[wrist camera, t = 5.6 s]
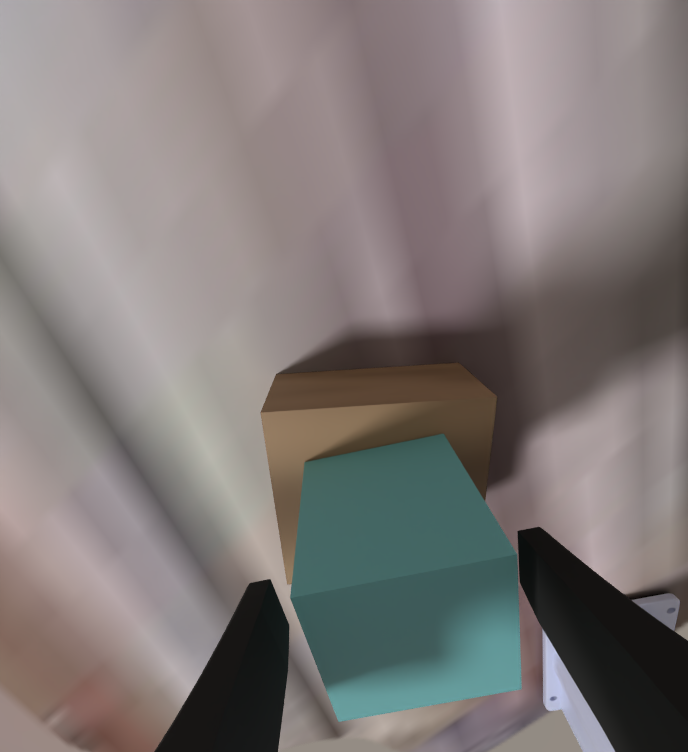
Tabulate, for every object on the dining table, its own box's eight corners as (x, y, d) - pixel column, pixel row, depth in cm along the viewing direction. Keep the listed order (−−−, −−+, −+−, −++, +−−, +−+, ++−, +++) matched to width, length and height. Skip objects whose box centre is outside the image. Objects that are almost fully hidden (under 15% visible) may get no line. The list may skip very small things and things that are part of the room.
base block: (446, 503, 18) (476, 569, 14) (295, 514, 18) (287, 584, 14) (456, 360, 15) (497, 396, 12) (277, 371, 15) (260, 412, 11)
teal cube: (456, 538, 14) (521, 689, 9) (334, 562, 14) (338, 721, 9) (443, 433, 12) (517, 554, 7) (304, 462, 12) (290, 597, 8)
